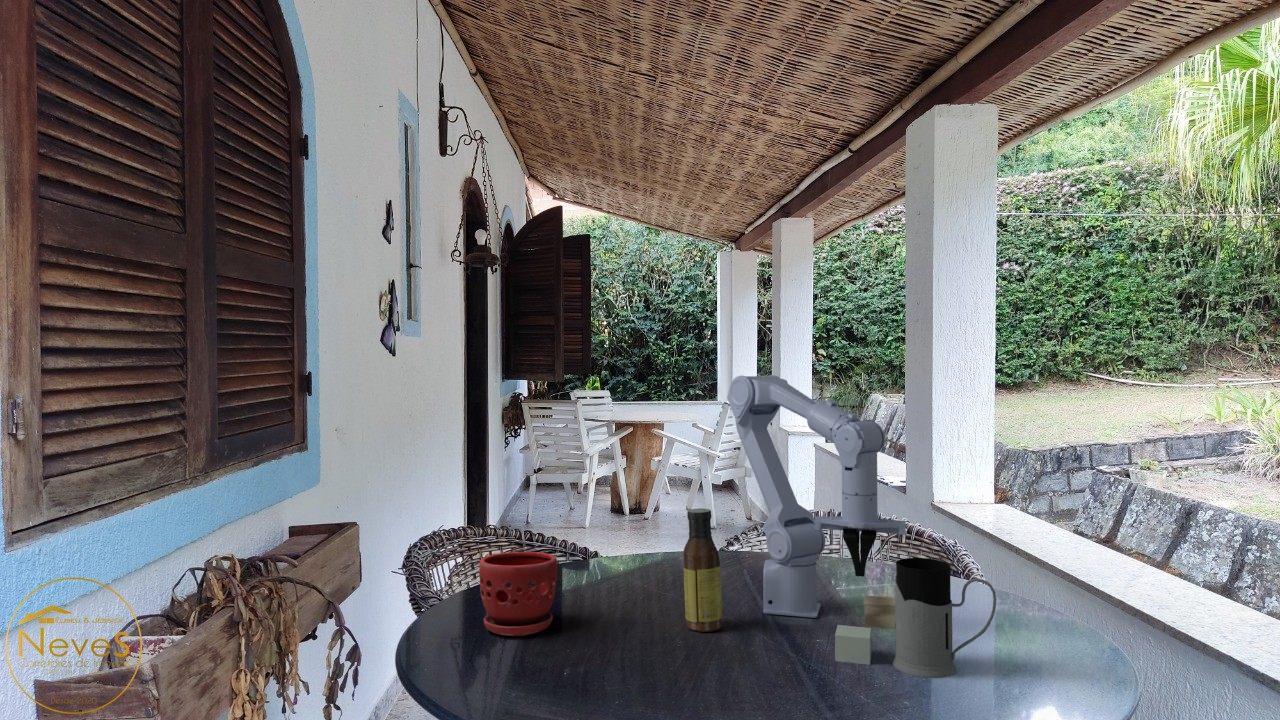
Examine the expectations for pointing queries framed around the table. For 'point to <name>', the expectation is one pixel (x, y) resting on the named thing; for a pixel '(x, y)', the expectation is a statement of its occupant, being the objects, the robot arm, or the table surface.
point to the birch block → (880, 612)
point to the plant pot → (518, 591)
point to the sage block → (853, 644)
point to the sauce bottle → (702, 575)
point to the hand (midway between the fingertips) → (860, 575)
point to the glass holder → (927, 618)
